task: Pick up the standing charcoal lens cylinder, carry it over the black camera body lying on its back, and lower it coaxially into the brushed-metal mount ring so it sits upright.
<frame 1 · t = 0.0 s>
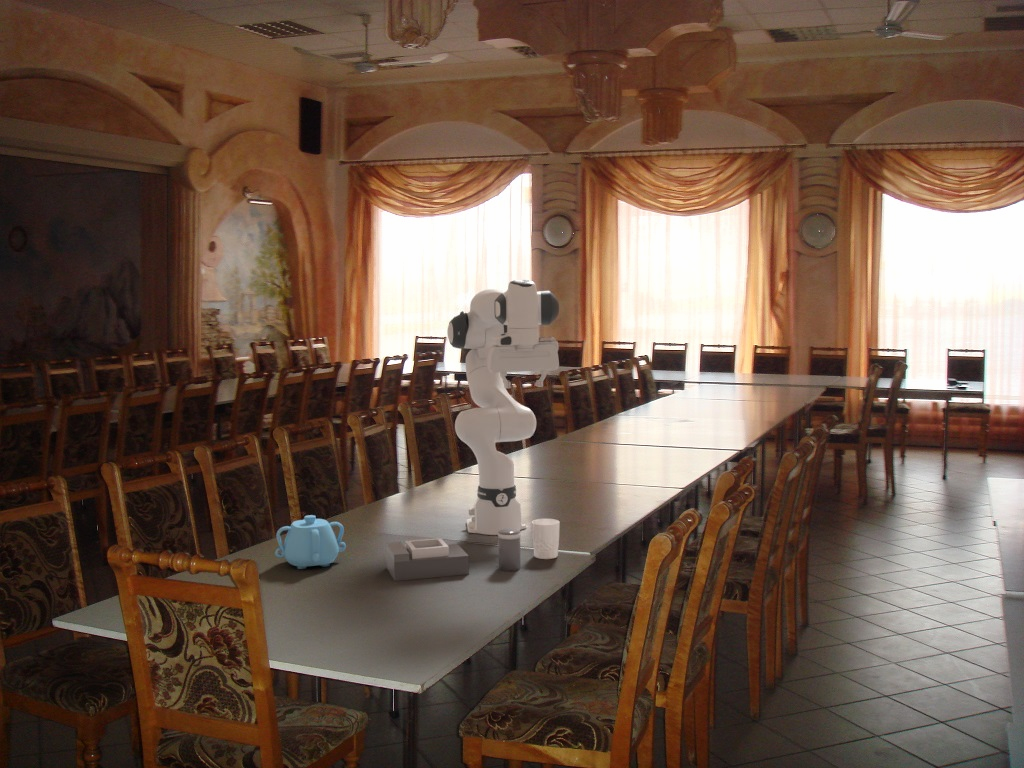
hand: (523, 387, 286), 48 cm above the table, fingers open, 8 cm apart
lens: (509, 567, 277), on the table
camera body: (427, 570, 275), on the table
decorative pot: (311, 564, 284), on the table
white cup: (546, 556, 288), on the table
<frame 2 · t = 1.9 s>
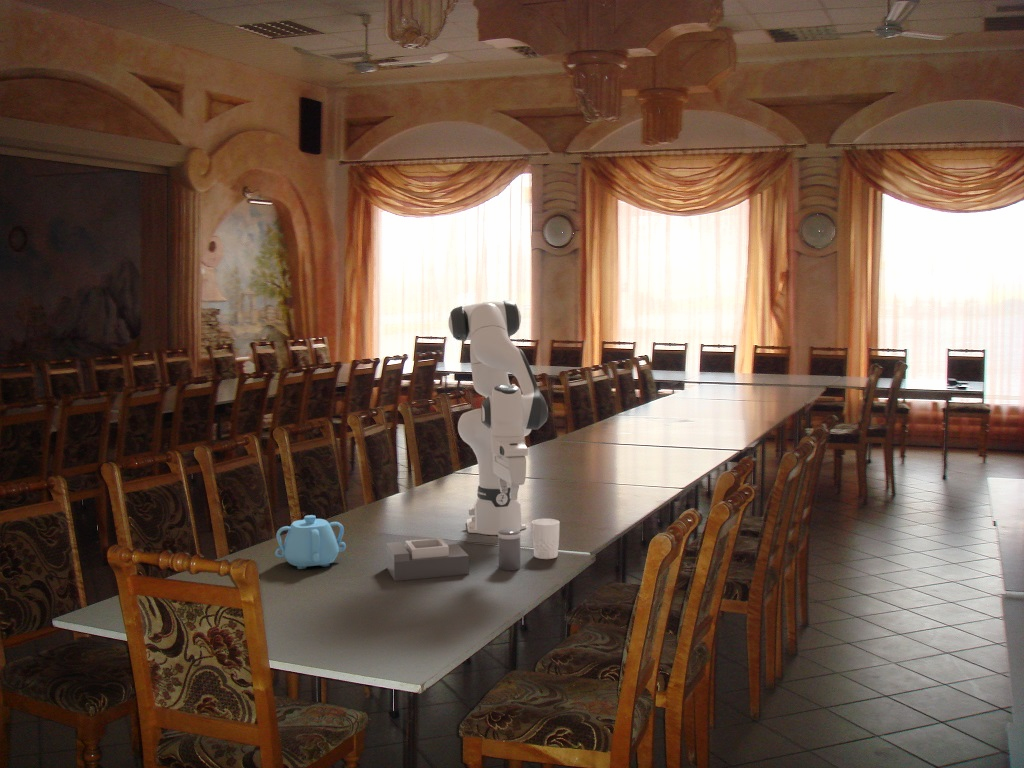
hand: (508, 496, 275), 20 cm above the table, fingers open, 8 cm apart
nothing on the table moved.
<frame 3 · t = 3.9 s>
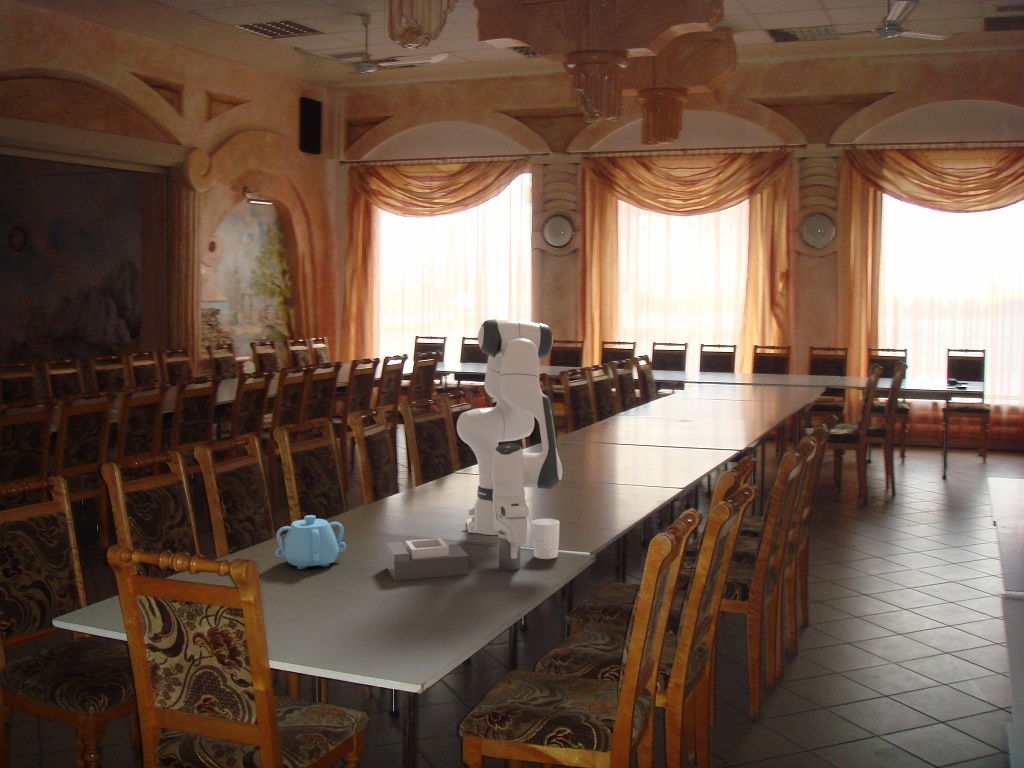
hand: (509, 554, 277), 4 cm above the table, fingers closed on lens, 6 cm apart
lens: (509, 567, 277), on the table, touching gripper
everything else where it was.
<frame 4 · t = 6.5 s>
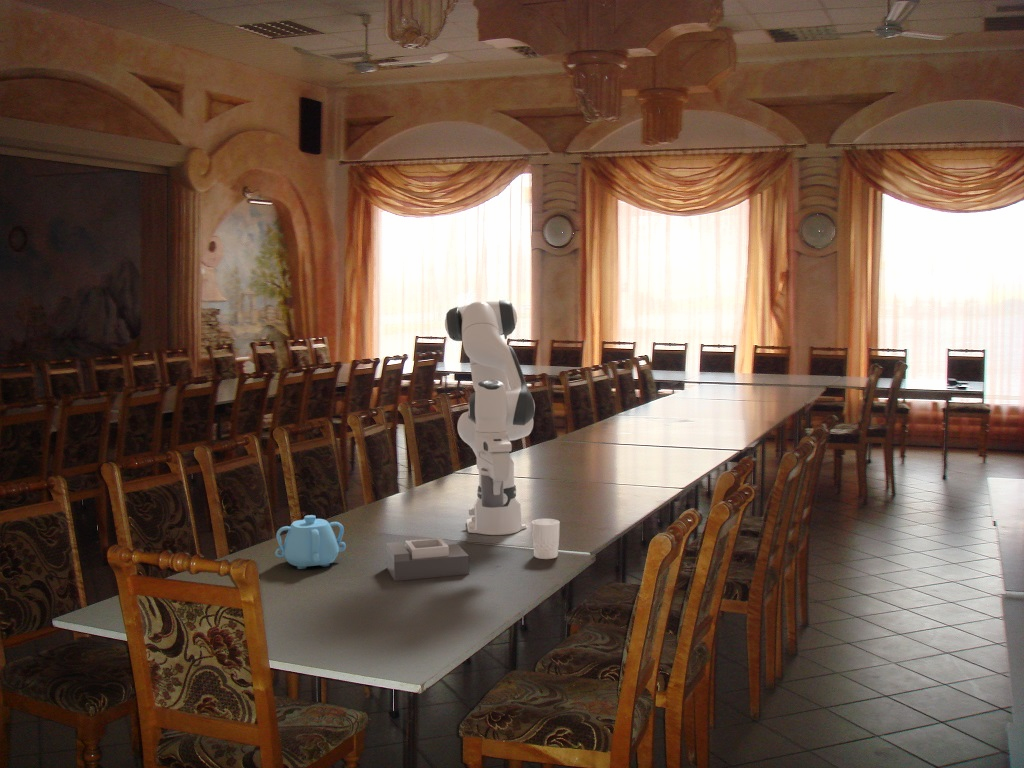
hand: (492, 491, 275), 21 cm above the table, fingers closed on lens, 6 cm apart
lens: (492, 505, 275), point 17 cm above the table, touching gripper
everything else where it was.
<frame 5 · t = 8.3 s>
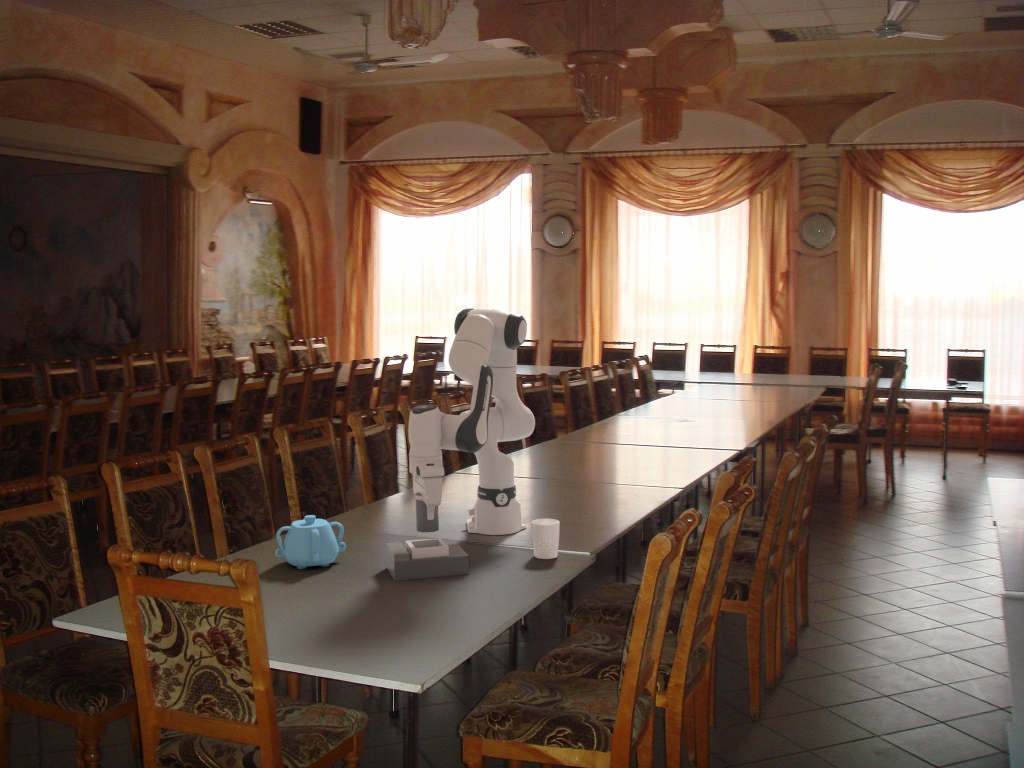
hand: (427, 516, 273), 15 cm above the table, fingers closed on lens, 6 cm apart
lens: (427, 529, 273), point 11 cm above the table, touching gripper
everything else where it was.
when the fingers open (10 cm above the table, at t = 9.6 s): lens drops 1 cm, resting on camera body.
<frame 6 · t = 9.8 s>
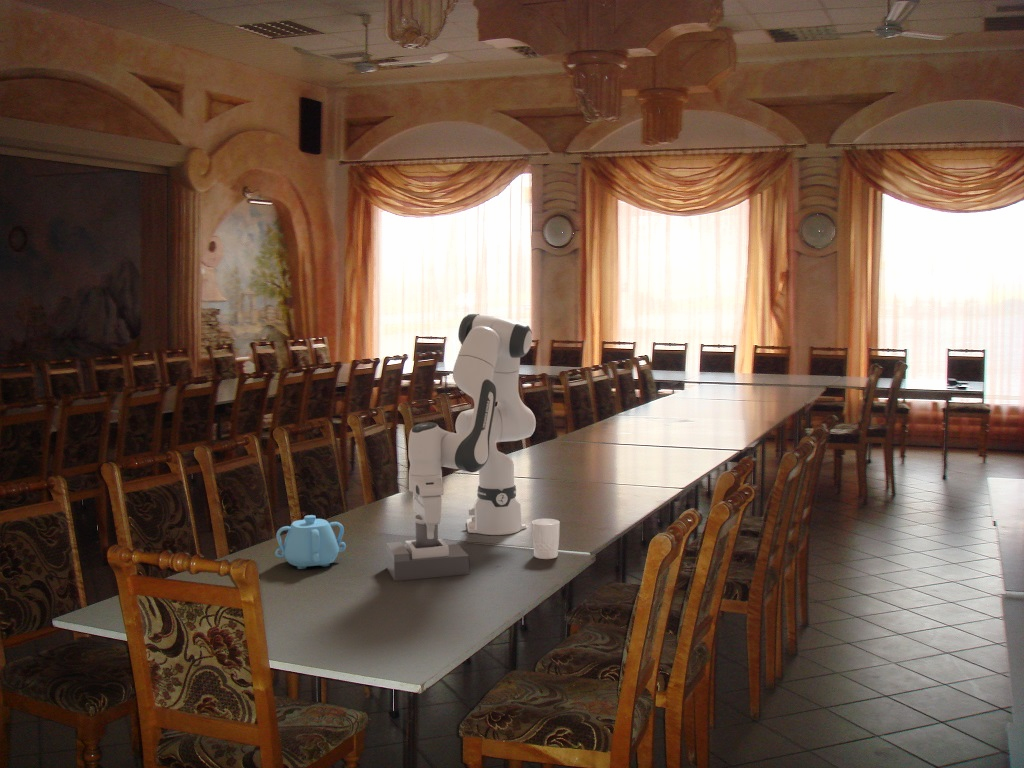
hand: (426, 534, 274), 10 cm above the table, fingers open, 8 cm apart
lens: (427, 552, 275), point 5 cm above the table, touching camera body
everything else where it was.
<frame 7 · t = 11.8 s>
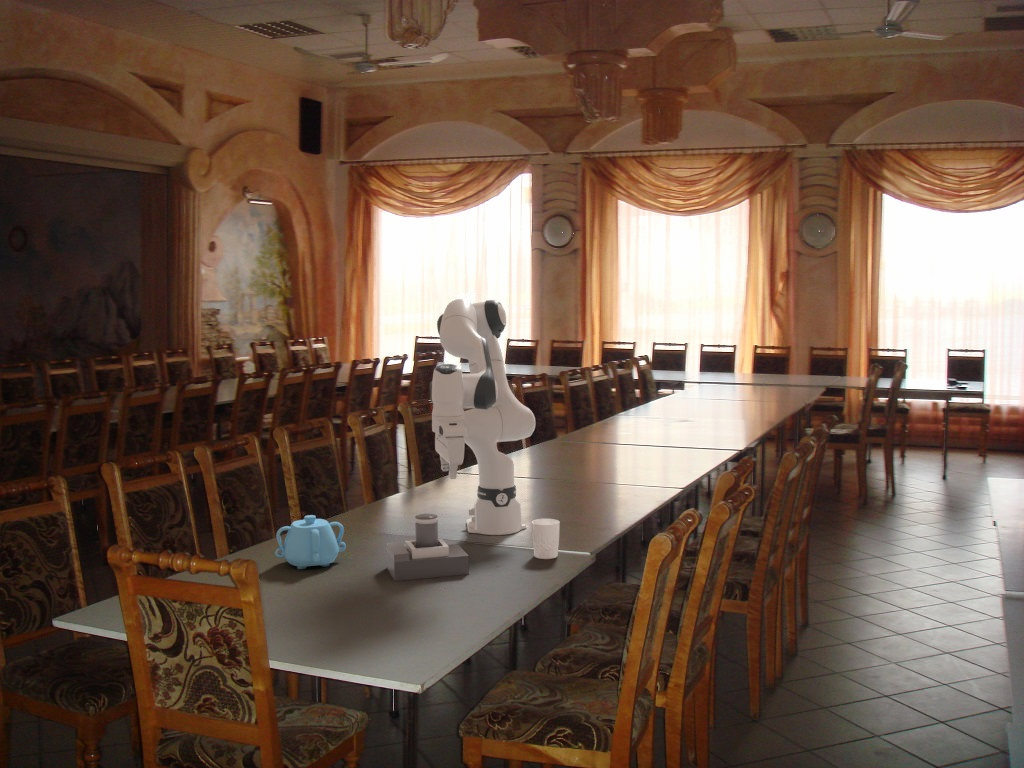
hand: (448, 474, 278), 25 cm above the table, fingers open, 8 cm apart
nothing on the table moved.
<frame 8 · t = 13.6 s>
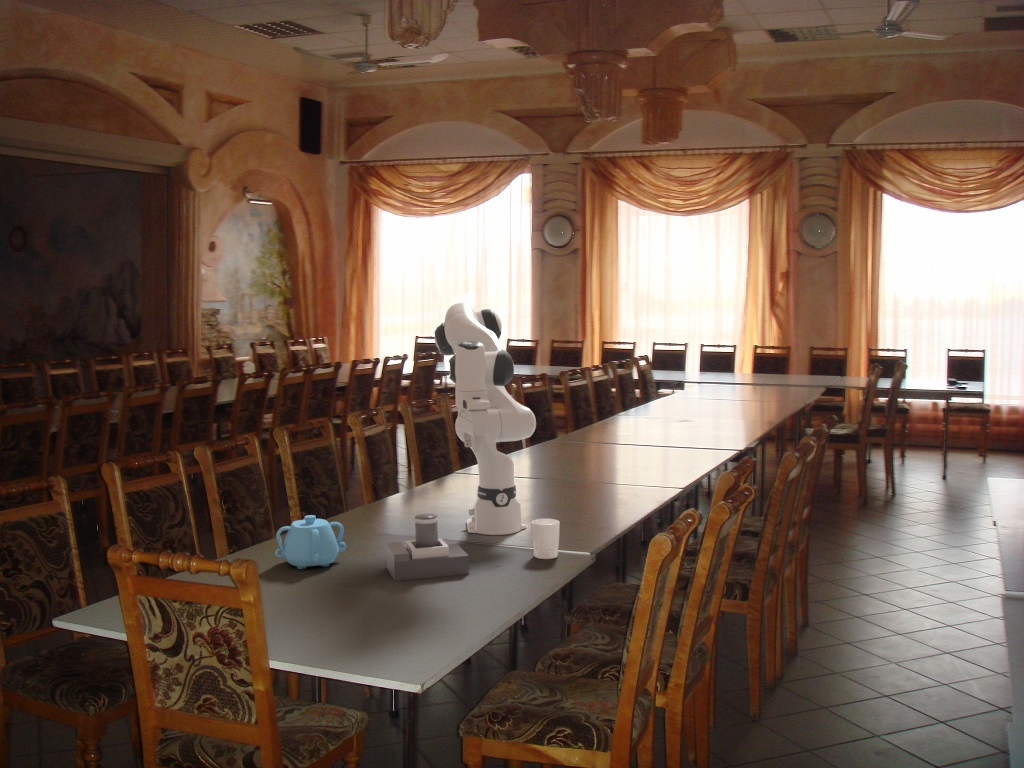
hand: (472, 449, 284), 31 cm above the table, fingers open, 8 cm apart
nothing on the table moved.
at the end: lens 0.1 cm off-centre on the camera body, point 5.0 cm above the camera body's base; lens tilted 0°; the gripper is holding nothing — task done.
